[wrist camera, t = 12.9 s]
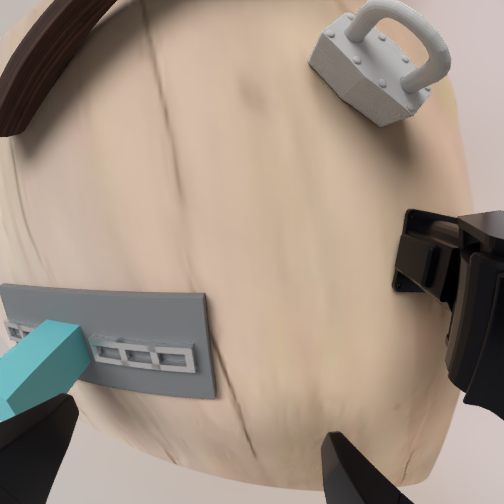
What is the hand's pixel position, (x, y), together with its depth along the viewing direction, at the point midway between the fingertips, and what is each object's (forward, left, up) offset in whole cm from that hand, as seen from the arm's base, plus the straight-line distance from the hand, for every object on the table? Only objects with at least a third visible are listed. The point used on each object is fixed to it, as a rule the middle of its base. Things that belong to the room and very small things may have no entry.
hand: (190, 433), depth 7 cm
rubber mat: (+13, +7, -13) cm, 20 cm away
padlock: (-8, -16, -13) cm, 22 cm away
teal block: (+15, +7, -12) cm, 20 cm away
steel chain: (+14, +7, -12) cm, 19 cm away
